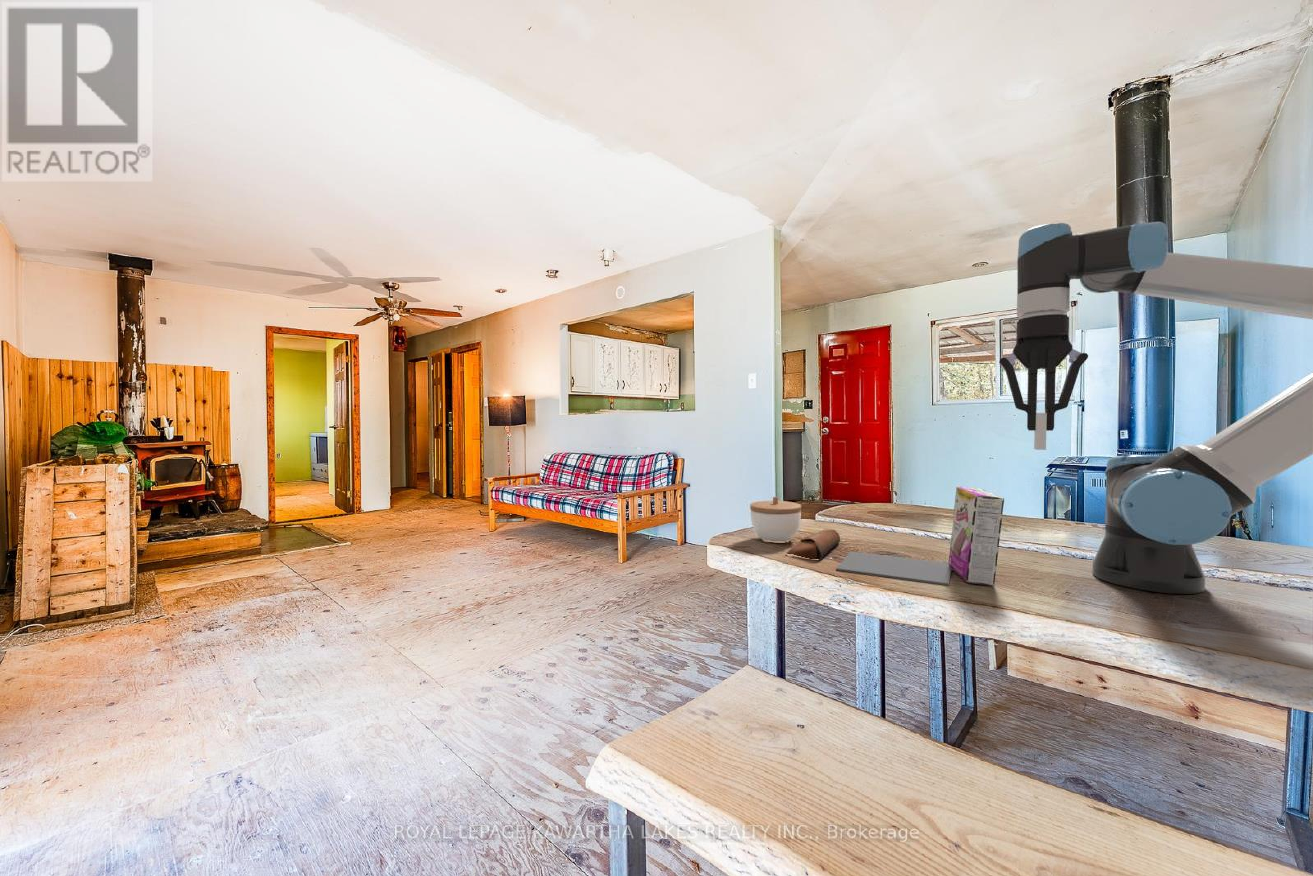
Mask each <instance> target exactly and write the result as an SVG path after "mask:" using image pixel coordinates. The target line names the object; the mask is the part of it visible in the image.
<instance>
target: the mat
mask: <svg viewBox="0 0 1313 876" xmlns="http://www.w3.org/2000/svg"><path fill="white" fill-rule="evenodd" d="M948 563H949V562H945V561H944V562H943V561H937V560H936V561H935V560H929V559H928V560H927V559H921V558H920V559H919V558H910V557H903V556H902V557H901V556H892V555H883V554H876V553H869V552H868V553H867V552H857V551H850V552H849V553H848V554H847V555H846V557H845V558H844V559H842V561H841V562H840V563H839V564H838V565H837V567H836V568H835V570H836V571H839V572H848V573H854V574H861V575H869V576H875V577H884V578H890V579H898V580H906V581H912V582H920V583H928V584H934V585H943V586H948V587H949V586H950V583H951V582H950V581H951V573H952V568H951V567H950V566H949V565H948Z"/></svg>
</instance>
